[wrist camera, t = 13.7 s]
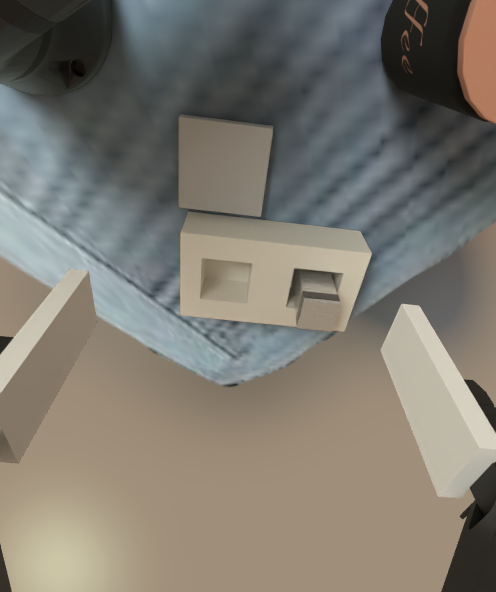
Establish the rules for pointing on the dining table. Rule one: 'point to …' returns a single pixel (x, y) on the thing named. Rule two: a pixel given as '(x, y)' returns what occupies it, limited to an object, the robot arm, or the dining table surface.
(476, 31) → the coffee jar
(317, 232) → the port box
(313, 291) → the plug
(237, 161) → the beige flat square plate
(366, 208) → the dining table surface
